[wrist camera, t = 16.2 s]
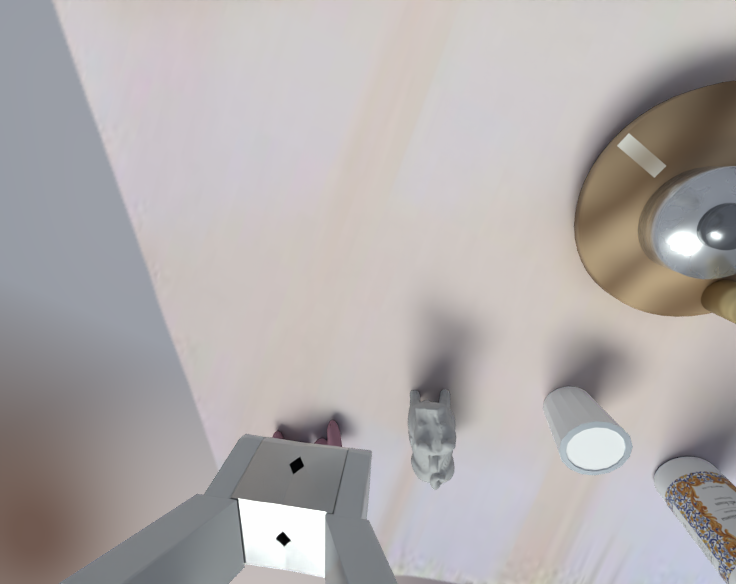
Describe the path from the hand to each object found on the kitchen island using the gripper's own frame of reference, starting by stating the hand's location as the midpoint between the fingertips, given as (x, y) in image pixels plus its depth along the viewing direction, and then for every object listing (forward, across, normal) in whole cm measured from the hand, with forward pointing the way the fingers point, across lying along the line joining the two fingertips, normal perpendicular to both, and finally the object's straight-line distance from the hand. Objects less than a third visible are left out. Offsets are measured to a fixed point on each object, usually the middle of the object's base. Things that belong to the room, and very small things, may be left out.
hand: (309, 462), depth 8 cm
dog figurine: (+31, -6, +23) cm, 39 cm away
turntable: (+30, -27, -4) cm, 41 cm away
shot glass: (+31, -23, +20) cm, 44 cm away
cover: (+28, -27, -3) cm, 39 cm away
